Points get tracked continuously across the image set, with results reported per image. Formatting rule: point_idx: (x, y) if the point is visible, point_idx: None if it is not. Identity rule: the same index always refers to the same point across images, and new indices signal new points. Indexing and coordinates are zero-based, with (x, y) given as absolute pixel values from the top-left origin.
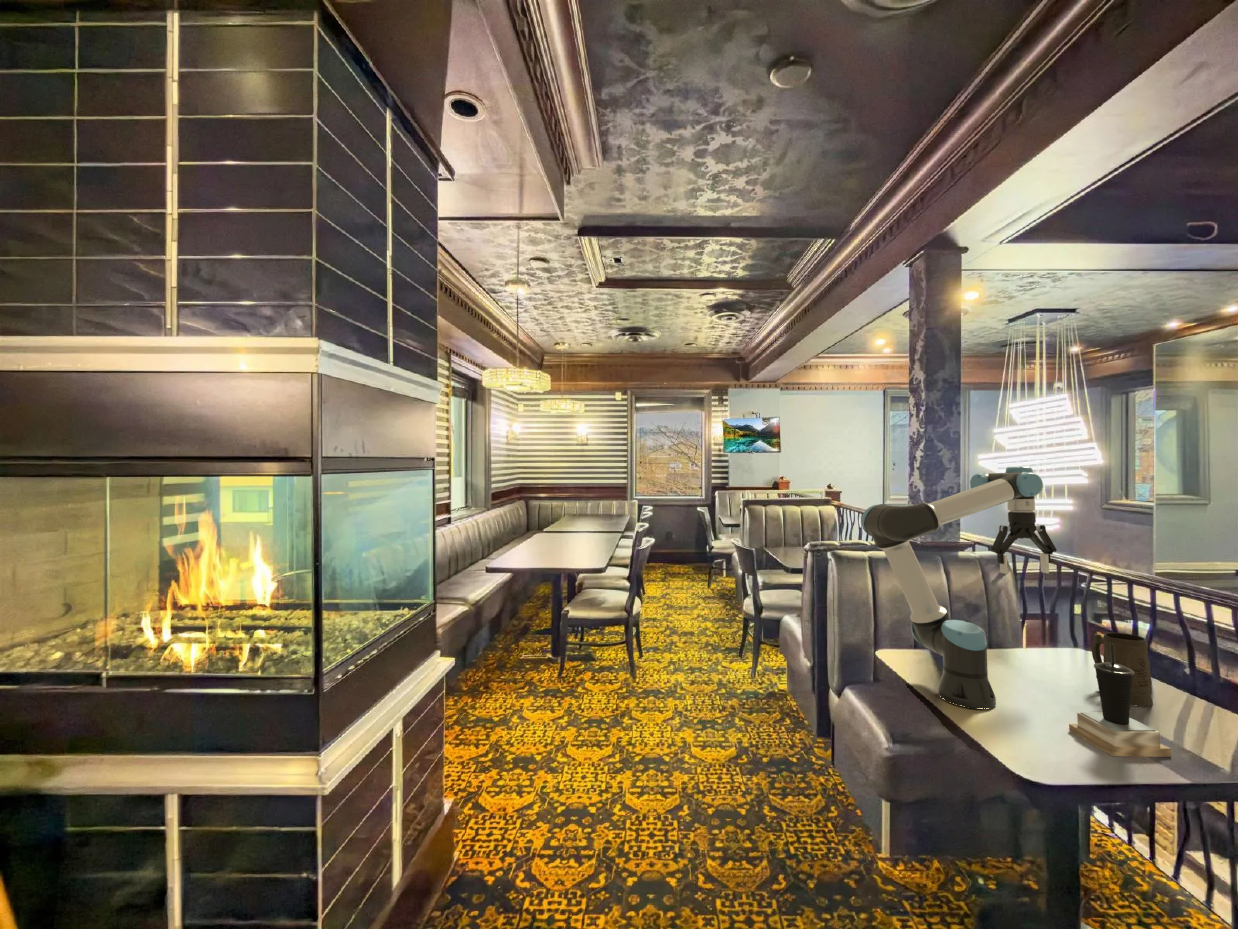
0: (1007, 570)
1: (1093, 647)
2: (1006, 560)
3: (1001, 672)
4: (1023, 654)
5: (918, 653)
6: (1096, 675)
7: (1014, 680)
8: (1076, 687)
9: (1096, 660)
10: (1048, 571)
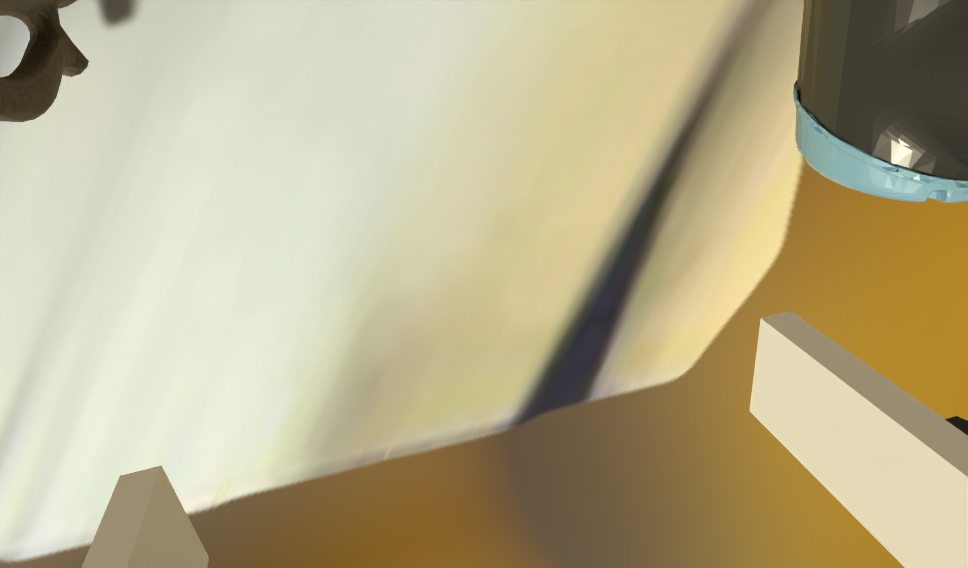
0: (801, 344)
1: (23, 93)
2: (962, 455)
3: (441, 203)
4: (253, 435)
5: (644, 353)
6: (82, 64)
7: (434, 112)
8: (199, 62)
9: (47, 68)
10: (121, 499)
